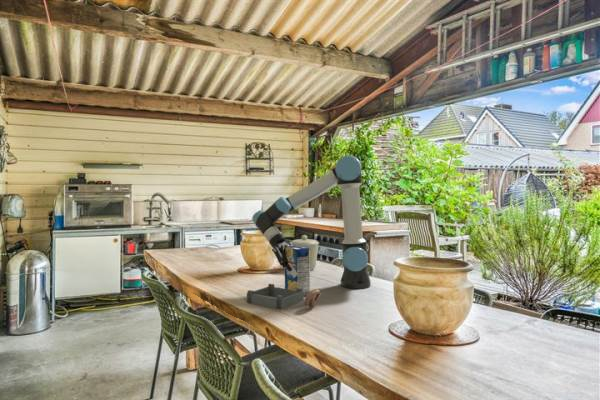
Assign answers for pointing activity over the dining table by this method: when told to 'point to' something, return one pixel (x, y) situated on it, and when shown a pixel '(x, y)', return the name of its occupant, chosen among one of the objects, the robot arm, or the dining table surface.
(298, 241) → the canister
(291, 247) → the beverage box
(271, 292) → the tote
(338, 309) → the dining table surface
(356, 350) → the dining table surface
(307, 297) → the mushroom
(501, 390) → the dining table surface
